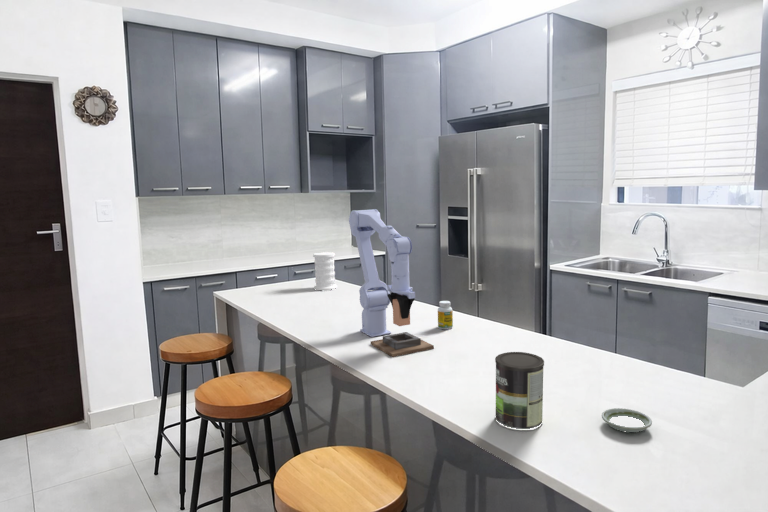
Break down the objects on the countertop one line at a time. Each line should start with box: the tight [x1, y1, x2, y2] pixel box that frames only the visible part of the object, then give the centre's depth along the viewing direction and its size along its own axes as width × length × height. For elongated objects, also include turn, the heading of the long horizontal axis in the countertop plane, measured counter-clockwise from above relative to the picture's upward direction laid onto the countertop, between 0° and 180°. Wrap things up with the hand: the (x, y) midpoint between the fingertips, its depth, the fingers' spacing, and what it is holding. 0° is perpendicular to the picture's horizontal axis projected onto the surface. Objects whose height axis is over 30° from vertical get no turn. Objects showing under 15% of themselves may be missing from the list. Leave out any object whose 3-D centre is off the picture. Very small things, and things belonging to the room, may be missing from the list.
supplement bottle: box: [437, 300, 454, 330], centre depth 187 cm, size 5×5×10 cm
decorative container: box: [312, 251, 338, 291], centre depth 263 cm, size 12×12×18 cm
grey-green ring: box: [601, 407, 653, 433], centre depth 110 cm, size 10×10×2 cm
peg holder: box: [370, 331, 435, 358], centre depth 168 cm, size 15×15×3 cm
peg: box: [392, 299, 411, 327], centre depth 167 cm, size 4×4×8 cm
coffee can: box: [494, 351, 545, 429], centre depth 113 cm, size 10×10×14 cm
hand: (401, 316), depth 167 cm, fingers closed on peg, 4 cm apart
